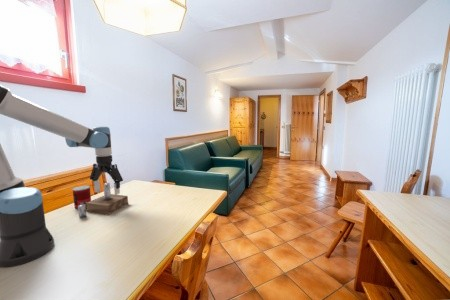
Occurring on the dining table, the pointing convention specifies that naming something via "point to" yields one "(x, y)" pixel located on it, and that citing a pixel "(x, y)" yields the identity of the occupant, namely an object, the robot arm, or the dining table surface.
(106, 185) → the long pin
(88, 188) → the canned food
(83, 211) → the short pin
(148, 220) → the dining table surface
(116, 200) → the hole block
